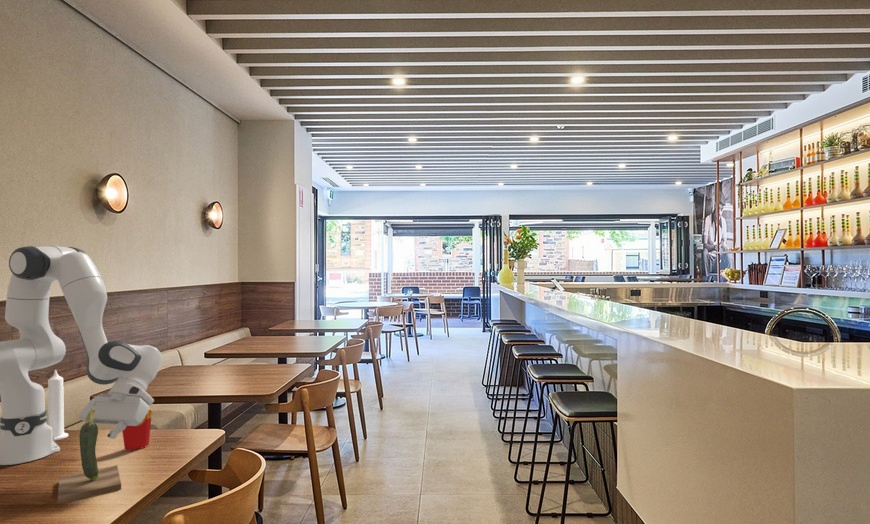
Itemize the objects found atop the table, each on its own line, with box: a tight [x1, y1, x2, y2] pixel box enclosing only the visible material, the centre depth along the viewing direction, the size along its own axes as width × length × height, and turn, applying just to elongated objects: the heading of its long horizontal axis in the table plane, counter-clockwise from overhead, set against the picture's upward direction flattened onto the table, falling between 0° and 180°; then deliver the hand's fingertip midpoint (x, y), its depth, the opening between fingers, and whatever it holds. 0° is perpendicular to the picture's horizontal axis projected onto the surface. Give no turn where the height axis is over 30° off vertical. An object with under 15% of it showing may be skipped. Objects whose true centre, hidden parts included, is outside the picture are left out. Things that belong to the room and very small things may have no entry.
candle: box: [47, 369, 69, 442], centre depth 184 cm, size 7×7×25 cm
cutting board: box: [57, 464, 122, 505], centre depth 141 cm, size 17×14×2 cm
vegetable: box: [78, 408, 99, 480], centre depth 141 cm, size 4×4×20 cm
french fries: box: [121, 407, 153, 451], centre depth 172 cm, size 9×4×13 cm, turn 131°
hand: (97, 436), depth 144 cm, fingers open, 8 cm apart
